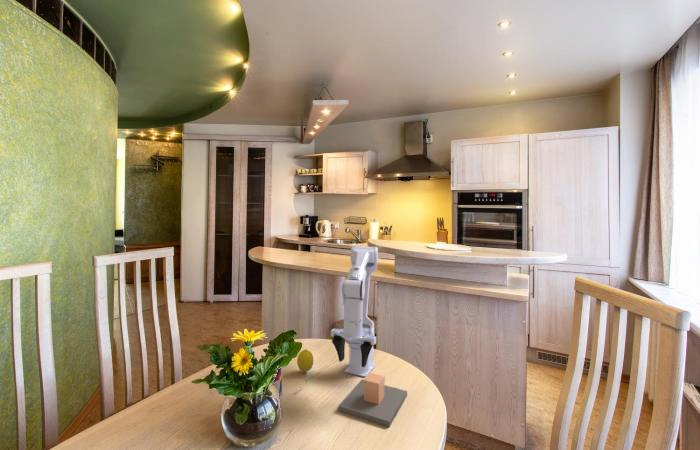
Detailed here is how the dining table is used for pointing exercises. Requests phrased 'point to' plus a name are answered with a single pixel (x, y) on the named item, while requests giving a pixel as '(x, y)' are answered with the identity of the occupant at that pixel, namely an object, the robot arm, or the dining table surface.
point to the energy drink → (278, 381)
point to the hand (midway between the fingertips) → (352, 362)
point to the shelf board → (374, 405)
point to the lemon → (305, 360)
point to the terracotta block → (374, 388)
